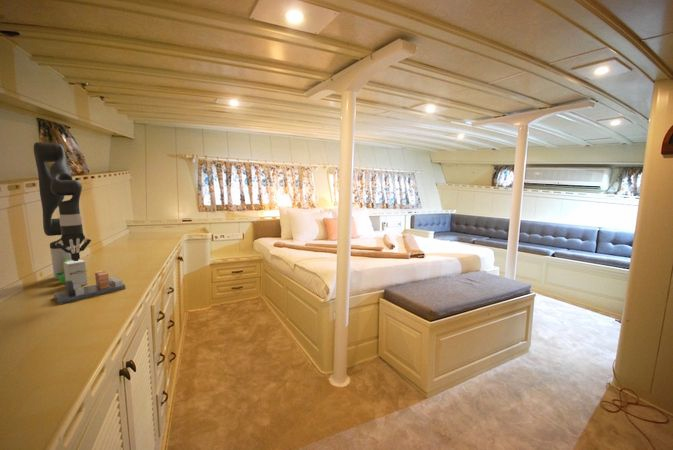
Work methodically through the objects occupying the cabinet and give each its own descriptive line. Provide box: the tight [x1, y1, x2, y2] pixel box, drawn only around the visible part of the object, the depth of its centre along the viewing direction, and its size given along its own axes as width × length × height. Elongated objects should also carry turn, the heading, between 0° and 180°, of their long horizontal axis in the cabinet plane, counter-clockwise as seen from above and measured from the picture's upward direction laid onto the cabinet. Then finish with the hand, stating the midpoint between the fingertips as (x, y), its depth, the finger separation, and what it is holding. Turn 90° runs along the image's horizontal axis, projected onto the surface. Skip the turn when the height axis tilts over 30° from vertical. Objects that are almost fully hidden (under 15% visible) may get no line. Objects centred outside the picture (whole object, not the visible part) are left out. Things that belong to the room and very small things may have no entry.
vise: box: [52, 275, 126, 305], centre depth 146 cm, size 12×25×4 cm, turn 141°
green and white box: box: [56, 260, 88, 285], centre depth 163 cm, size 11×9×11 cm
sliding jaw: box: [64, 281, 84, 296], centre depth 141 cm, size 12×5×5 cm, turn 51°
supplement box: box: [63, 258, 88, 287], centre depth 156 cm, size 7×7×13 cm
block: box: [94, 269, 110, 289], centre depth 149 cm, size 8×4×7 cm, turn 51°
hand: (76, 260), depth 140 cm, fingers closed
